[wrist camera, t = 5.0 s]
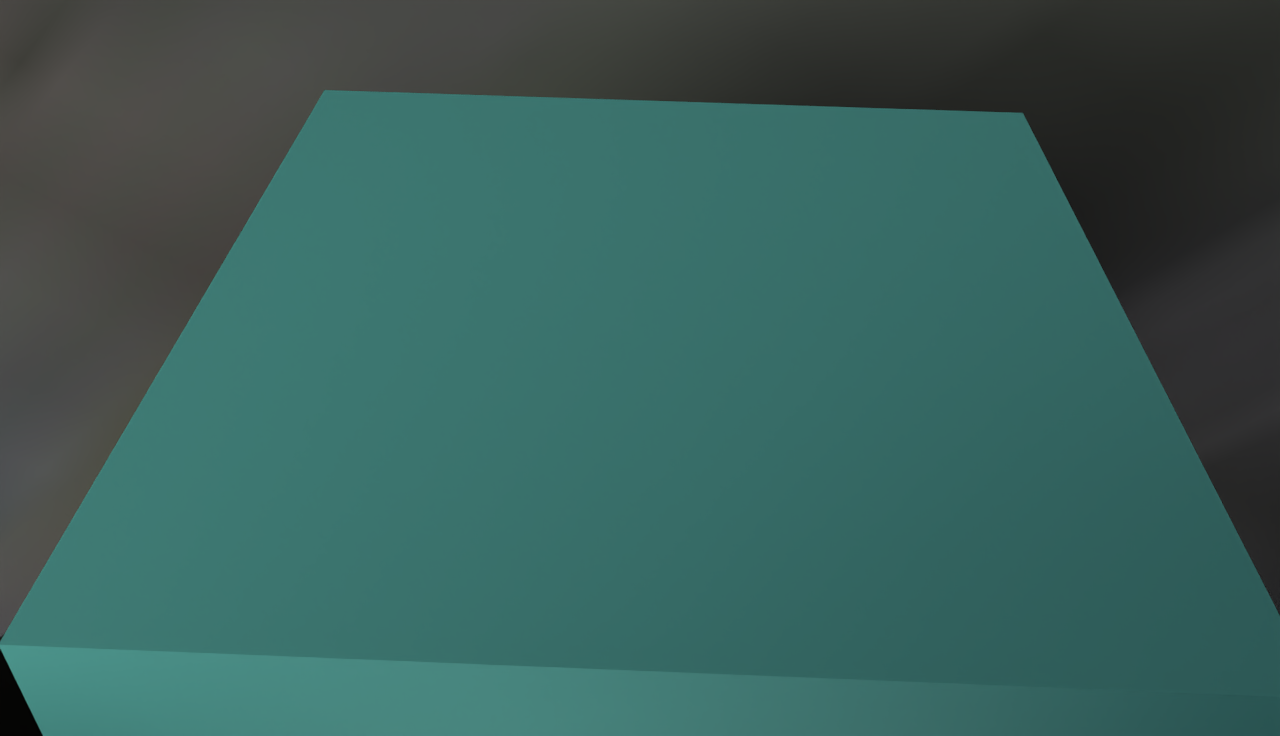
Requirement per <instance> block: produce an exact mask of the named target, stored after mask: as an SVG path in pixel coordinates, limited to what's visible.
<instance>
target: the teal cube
mask: <svg viewBox="0 0 1280 736" xmlns="http://www.w3.org/2000/svg"><path fill="white" fill-rule="evenodd" d="M0 649H1V651H2V653H3V655H4V657H5V659H6V661H7V663H8V665H9V667H10V669H11V671H12V673H13V676H14V678H15V680H16V682H17V684H18V686H19V688H20V690H21V692H22V694H23V696H24V698H25V700H26V702H27V704H28V706H29V708H30V710H31V712H32V714H33V716H34V718H35V720H36V722H37V724H38V727H39V729H40V731H41V733H42V735H43V736H1280V615H1279V613H1278V611H1277V609H1276V607H1275V605H1274V603H1273V602H1272V600H1271V598H1270V596H1269V594H1268V592H1267V590H1266V588H1265V586H1264V584H1263V582H1262V580H1261V578H1260V576H1259V574H1258V572H1257V570H1256V568H1255V566H1254V564H1253V562H1252V560H1251V558H1250V557H1249V555H1248V553H1247V551H1246V549H1245V547H1244V545H1243V543H1242V541H1241V539H1240V537H1239V535H1238V533H1237V531H1236V529H1235V527H1234V525H1233V523H1232V521H1231V519H1230V517H1229V515H1228V513H1227V512H1226V510H1225V508H1224V506H1223V504H1222V502H1221V500H1220V498H1219V496H1218V494H1217V492H1216V490H1215V488H1214V486H1213V484H1212V482H1211V480H1210V478H1209V476H1208V474H1207V472H1206V470H1205V468H1204V467H1203V465H1202V463H1201V461H1200V459H1199V457H1198V455H1197V453H1196V451H1195V449H1194V447H1193V445H1192V443H1191V441H1190V439H1189V437H1188V435H1187V433H1186V431H1185V429H1184V427H1183V425H1182V423H1181V422H1180V420H1179V418H1178V416H1177V414H1176V412H1175V410H1174V408H1173V406H1172V404H1171V402H1170V400H1169V398H1168V396H1167V394H1166V392H1165V390H1164V388H1163V386H1162V384H1161V382H1160V380H1159V378H1158V377H1157V375H1156V373H1155V371H1154V369H1153V367H1152V365H1151V363H1150V361H1149V359H1148V357H1147V355H1146V353H1145V351H1144V349H1143V347H1142V345H1141V343H1140V341H1139V339H1138V337H1137V335H1136V333H1135V332H1134V330H1133V328H1132V326H1131V324H1130V322H1129V320H1128V318H1127V316H1126V314H1125V312H1124V310H1123V308H1122V306H1121V304H1120V302H1119V300H1118V298H1117V296H1116V294H1115V292H1114V290H1113V288H1112V287H1111V285H1110V283H1109V281H1108V279H1107V277H1106V275H1105V273H1104V271H1103V269H1102V267H1101V265H1100V263H1099V261H1098V259H1097V257H1096V255H1095V253H1094V251H1093V249H1092V247H1091V245H1090V243H1089V241H1088V240H1087V238H1086V236H1085V234H1084V232H1083V230H1082V228H1081V226H1080V224H1079V222H1078V220H1077V218H1076V216H1075V214H1074V212H1073V210H1072V208H1071V206H1070V204H1069V202H1068V200H1067V198H1066V196H1065V195H1064V193H1063V191H1062V189H1061V187H1060V185H1059V183H1058V181H1057V179H1056V177H1055V175H1054V173H1053V171H1052V169H1051V167H1050V165H1049V163H1048V161H1047V159H1046V157H1045V155H1044V153H1043V151H1042V150H1041V148H1040V146H1039V144H1038V142H1037V140H1036V138H1035V136H1034V134H1033V132H1032V130H1031V128H1030V126H1029V124H1028V122H1027V120H1026V118H1025V116H1024V114H1023V113H1010V112H979V111H948V110H918V109H887V108H857V107H826V106H795V105H765V104H734V103H704V102H673V101H642V100H612V99H581V98H551V97H520V96H489V95H459V94H428V93H398V92H367V91H336V90H324V92H323V94H322V95H321V97H320V99H319V100H318V102H317V104H316V106H315V107H314V109H313V111H312V112H311V114H310V116H309V117H308V119H307V121H306V123H305V124H304V126H303V128H302V129H301V131H300V133H299V134H298V136H297V138H296V140H295V141H294V143H293V145H292V146H291V148H290V150H289V151H288V153H287V155H286V157H285V158H284V160H283V162H282V163H281V165H280V167H279V169H278V170H277V172H276V174H275V175H274V177H273V179H272V180H271V182H270V184H269V186H268V187H267V189H266V191H265V192H264V194H263V196H262V197H261V199H260V201H259V203H258V204H257V206H256V208H255V209H254V211H253V213H252V214H251V216H250V218H249V220H248V221H247V223H246V225H245V226H244V228H243V230H242V231H241V233H240V235H239V237H238V238H237V240H236V242H235V243H234V245H233V247H232V248H231V250H230V252H229V254H228V255H227V257H226V259H225V260H224V262H223V264H222V265H221V267H220V269H219V271H218V272H217V274H216V276H215V277H214V279H213V281H212V282H211V284H210V286H209V288H208V289H207V291H206V293H205V294H204V296H203V298H202V299H201V301H200V303H199V305H198V306H197V308H196V310H195V311H194V313H193V315H192V316H191V318H190V320H189V322H188V323H187V325H186V327H185V328H184V330H183V332H182V333H181V335H180V337H179V339H178V340H177V342H176V344H175V345H174V347H173V349H172V350H171V352H170V354H169V356H168V357H167V359H166V361H165V362H164V364H163V366H162V367H161V369H160V371H159V373H158V374H157V376H156V378H155V379H154V381H153V383H152V384H151V386H150V388H149V390H148V391H147V393H146V395H145V396H144V398H143V400H142V401H141V403H140V405H139V407H138V408H137V410H136V412H135V413H134V415H133V417H132V418H131V420H130V422H129V424H128V425H127V427H126V429H125V430H124V432H123V434H122V435H121V437H120V439H119V441H118V442H117V444H116V446H115V447H114V449H113V451H112V452H111V454H110V456H109V458H108V459H107V461H106V463H105V464H104V466H103V468H102V469H101V471H100V473H99V475H98V476H97V478H96V480H95V481H94V483H93V485H92V486H91V488H90V490H89V492H88V493H87V495H86V497H85V498H84V500H83V502H82V503H81V505H80V507H79V509H78V510H77V512H76V514H75V515H74V517H73V519H72V520H71V522H70V524H69V526H68V527H67V529H66V531H65V532H64V534H63V536H62V537H61V539H60V541H59V543H58V544H57V546H56V548H55V549H54V551H53V553H52V554H51V556H50V558H49V560H48V561H47V563H46V565H45V566H44V568H43V570H42V571H41V573H40V575H39V577H38V578H37V580H36V582H35V583H34V585H33V587H32V588H31V590H30V592H29V594H28V595H27V597H26V599H25V600H24V602H23V604H22V605H21V607H20V609H19V611H18V612H17V614H16V616H15V617H14V619H13V621H12V622H11V624H10V626H9V628H8V629H7V631H6V633H5V634H4V636H3V638H2V639H1V641H0Z"/></svg>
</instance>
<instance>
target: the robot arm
mask: <svg viewBox="0 0 1280 736" xmlns="http://www.w3.org/2000/svg"><path fill="white" fill-rule="evenodd" d="M3 636H4V635H2V636H1V637H0V641H1V639H2V638H3ZM0 736H43V735H42V733H41V731H40V729H39V727H38V724H37V722H36V720H35V718H34V716H33V714H32V712H31V710H30V708H29V706H28V704H27V702H26V700H25V698H24V696H23V694H22V692H21V690H20V688H19V686H18V684H17V682H16V680H15V678H14V676H13V673H12V671H11V669H10V667H9V665H8V663H7V661H6V659H5V657H4V655H3V653H2V651H1V649H0Z"/></svg>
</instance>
